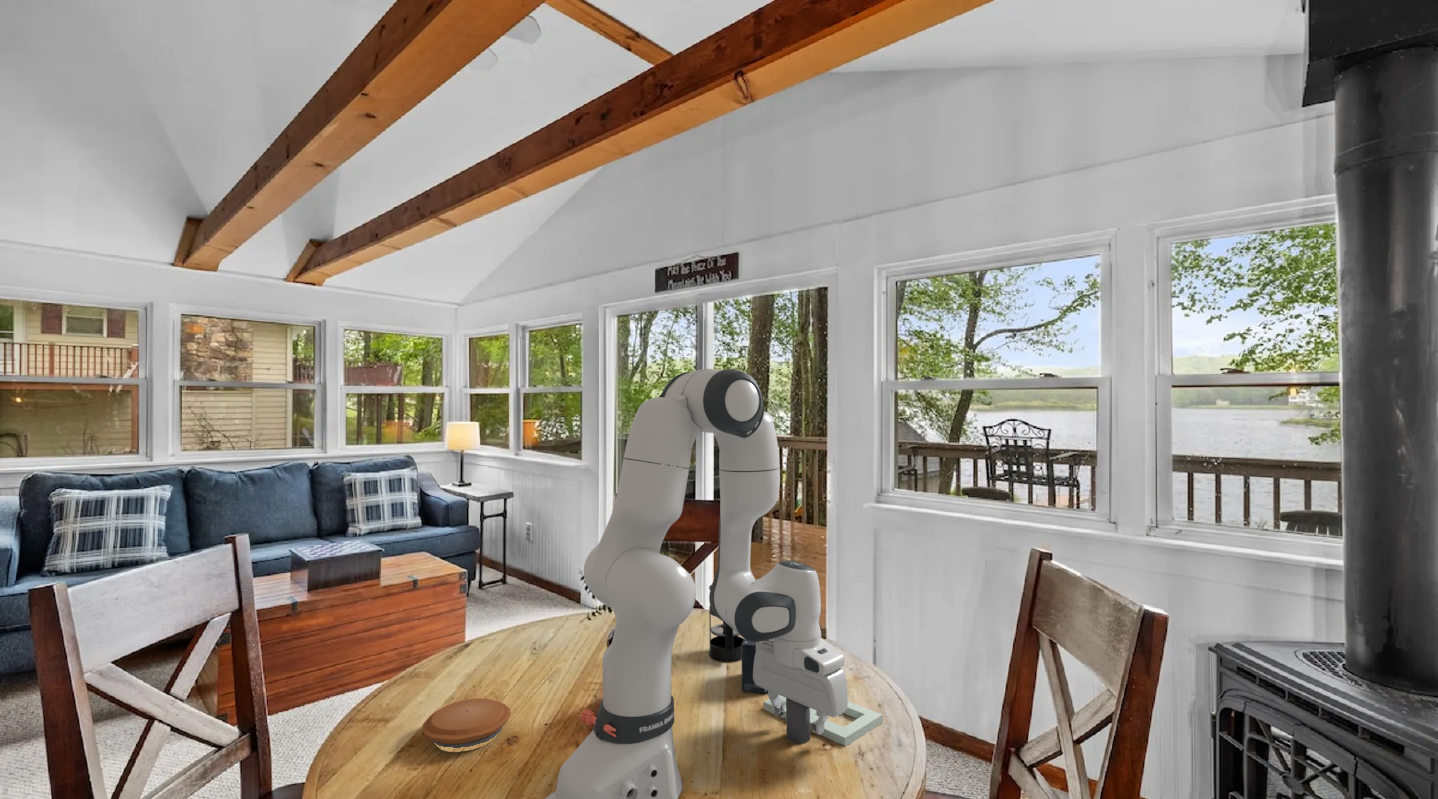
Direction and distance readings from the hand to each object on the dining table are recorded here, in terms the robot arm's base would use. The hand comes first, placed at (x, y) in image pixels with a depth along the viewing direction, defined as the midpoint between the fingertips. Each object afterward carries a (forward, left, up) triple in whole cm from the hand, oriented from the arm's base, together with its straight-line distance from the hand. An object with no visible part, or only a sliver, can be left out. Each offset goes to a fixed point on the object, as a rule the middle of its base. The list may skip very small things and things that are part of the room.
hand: (798, 723), depth 121 cm
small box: (+12, +21, -3) cm, 24 cm away
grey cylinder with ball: (0, 0, -3) cm, 3 cm away
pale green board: (+10, +2, -3) cm, 10 cm away
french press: (+18, +37, -3) cm, 41 cm away
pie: (-44, +44, -3) cm, 62 cm away
